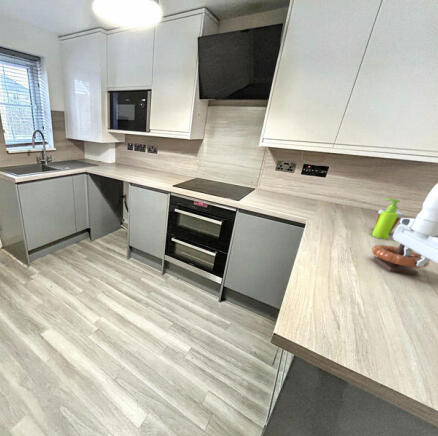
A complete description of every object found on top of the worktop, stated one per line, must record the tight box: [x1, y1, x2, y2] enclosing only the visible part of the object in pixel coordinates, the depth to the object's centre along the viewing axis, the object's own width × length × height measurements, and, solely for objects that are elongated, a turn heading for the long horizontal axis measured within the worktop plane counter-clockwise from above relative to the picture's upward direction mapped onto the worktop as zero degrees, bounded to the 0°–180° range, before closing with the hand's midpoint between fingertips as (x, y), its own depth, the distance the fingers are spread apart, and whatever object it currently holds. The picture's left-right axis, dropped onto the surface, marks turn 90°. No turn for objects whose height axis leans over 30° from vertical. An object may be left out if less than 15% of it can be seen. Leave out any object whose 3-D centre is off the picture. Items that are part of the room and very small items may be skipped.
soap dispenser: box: [371, 198, 401, 240], centre depth 119 cm, size 6×7×20 cm
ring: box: [371, 244, 430, 269], centre depth 91 cm, size 15×15×4 cm
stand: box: [372, 243, 419, 276], centre depth 91 cm, size 9×9×14 cm
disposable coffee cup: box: [374, 208, 404, 235], centre depth 127 cm, size 10×10×12 cm
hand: (412, 262), depth 86 cm, fingers closed on ring, 3 cm apart
